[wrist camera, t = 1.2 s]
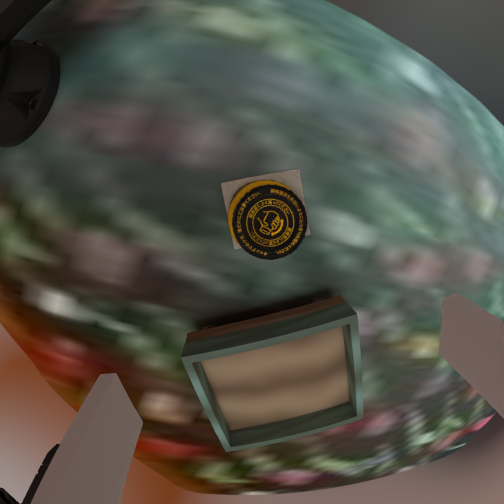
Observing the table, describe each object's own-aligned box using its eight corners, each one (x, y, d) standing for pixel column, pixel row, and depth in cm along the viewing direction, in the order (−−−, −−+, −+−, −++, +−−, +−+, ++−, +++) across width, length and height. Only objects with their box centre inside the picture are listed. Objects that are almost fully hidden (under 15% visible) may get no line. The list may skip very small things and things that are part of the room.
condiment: (220, 183, 31) (211, 183, 19) (298, 168, 31) (334, 161, 19) (234, 249, 33) (234, 286, 21) (309, 234, 33) (348, 262, 21)
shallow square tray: (191, 321, 34) (181, 357, 26) (332, 286, 34) (356, 313, 26) (226, 410, 38) (226, 451, 30) (344, 381, 38) (363, 418, 30)
